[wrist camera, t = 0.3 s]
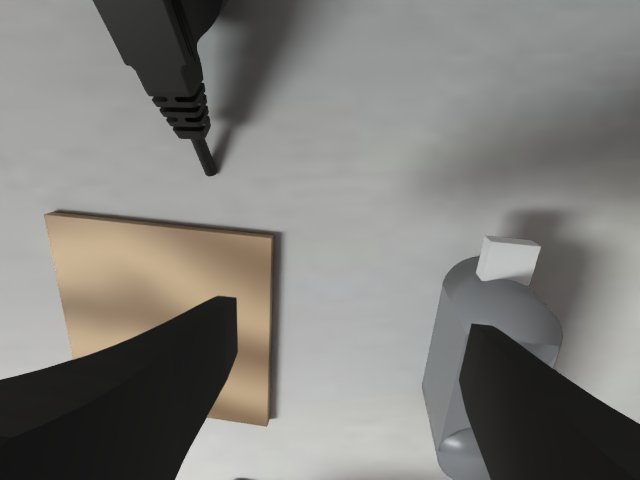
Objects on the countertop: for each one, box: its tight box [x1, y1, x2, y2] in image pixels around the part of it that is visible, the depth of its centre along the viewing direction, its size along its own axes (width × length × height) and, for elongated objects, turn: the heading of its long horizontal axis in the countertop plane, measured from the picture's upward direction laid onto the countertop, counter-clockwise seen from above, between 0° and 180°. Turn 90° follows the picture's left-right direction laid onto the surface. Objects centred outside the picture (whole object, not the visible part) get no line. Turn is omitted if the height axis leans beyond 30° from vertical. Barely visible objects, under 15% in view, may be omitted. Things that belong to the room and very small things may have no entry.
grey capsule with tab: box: [422, 236, 563, 480], centre depth 19 cm, size 13×4×5 cm, turn 176°
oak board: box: [44, 212, 274, 427], centre depth 23 cm, size 14×14×1 cm
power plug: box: [93, 0, 228, 176], centre depth 16 cm, size 6×8×12 cm
